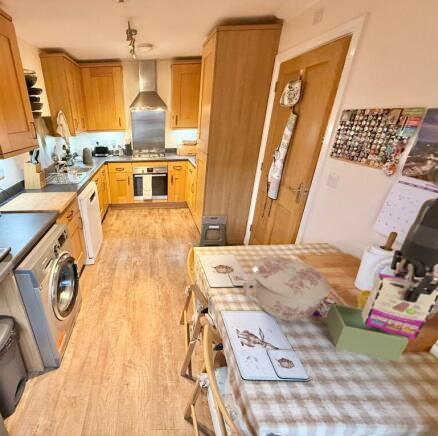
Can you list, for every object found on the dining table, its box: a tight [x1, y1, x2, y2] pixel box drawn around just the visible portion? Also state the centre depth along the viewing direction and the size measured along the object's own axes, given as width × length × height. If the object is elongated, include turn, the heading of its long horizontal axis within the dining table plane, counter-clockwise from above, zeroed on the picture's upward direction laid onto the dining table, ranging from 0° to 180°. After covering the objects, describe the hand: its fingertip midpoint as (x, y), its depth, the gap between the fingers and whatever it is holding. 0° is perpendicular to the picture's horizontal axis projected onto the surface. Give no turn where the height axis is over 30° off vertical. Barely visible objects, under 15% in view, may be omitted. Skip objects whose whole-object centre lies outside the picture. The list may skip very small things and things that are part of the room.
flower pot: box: [356, 289, 372, 309], centre depth 89 cm, size 10×10×10 cm
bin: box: [324, 302, 410, 363], centre depth 81 cm, size 17×12×10 cm
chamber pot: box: [242, 256, 332, 322], centre depth 94 cm, size 28×28×21 cm
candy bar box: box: [362, 272, 438, 340], centre depth 66 cm, size 11×5×16 cm, turn 60°
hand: (402, 293), depth 64 cm, fingers closed on candy bar box, 5 cm apart
